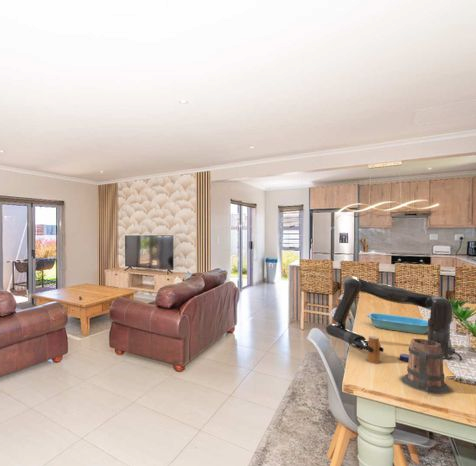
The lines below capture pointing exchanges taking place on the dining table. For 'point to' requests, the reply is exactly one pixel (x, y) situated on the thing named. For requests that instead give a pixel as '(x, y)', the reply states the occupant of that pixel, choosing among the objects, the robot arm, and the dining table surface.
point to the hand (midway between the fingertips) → (377, 350)
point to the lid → (404, 357)
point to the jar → (374, 349)
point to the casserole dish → (399, 323)
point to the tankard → (426, 367)
